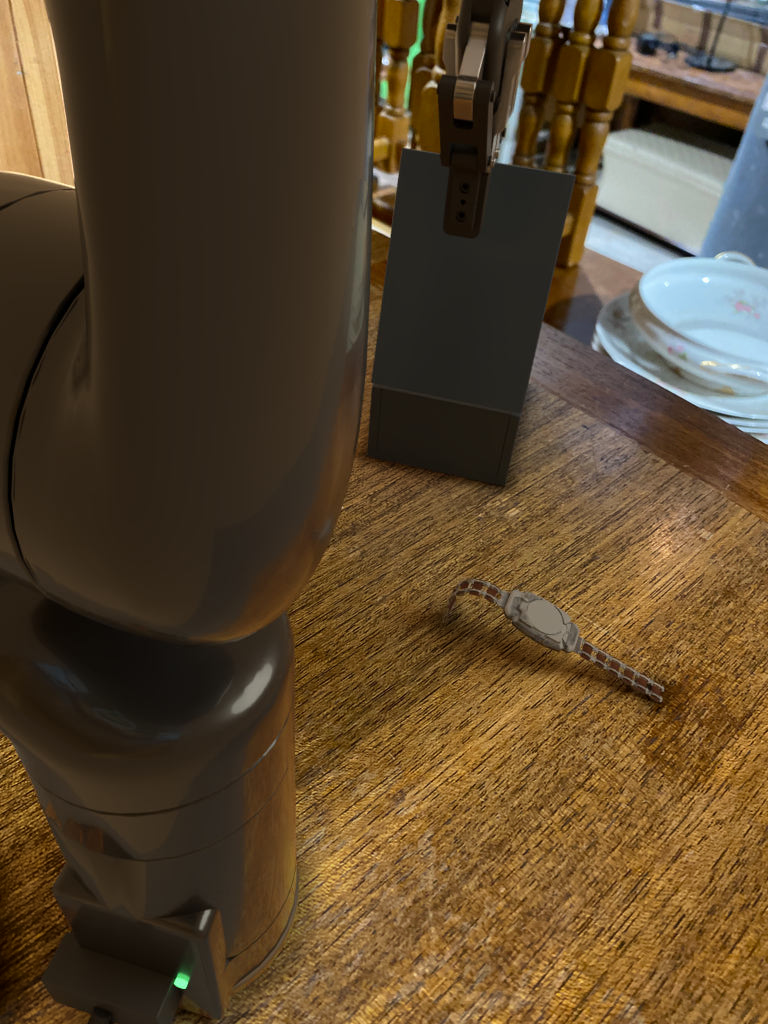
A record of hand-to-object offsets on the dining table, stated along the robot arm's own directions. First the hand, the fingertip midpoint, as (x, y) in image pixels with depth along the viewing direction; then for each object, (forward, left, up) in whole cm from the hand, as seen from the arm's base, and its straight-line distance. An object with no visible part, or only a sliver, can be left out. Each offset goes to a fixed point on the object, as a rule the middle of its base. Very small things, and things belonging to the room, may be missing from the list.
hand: (462, 231), depth 46 cm
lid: (+7, 0, -7) cm, 9 cm away
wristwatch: (-12, -11, -22) cm, 27 cm away
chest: (+12, 0, -22) cm, 25 cm away
